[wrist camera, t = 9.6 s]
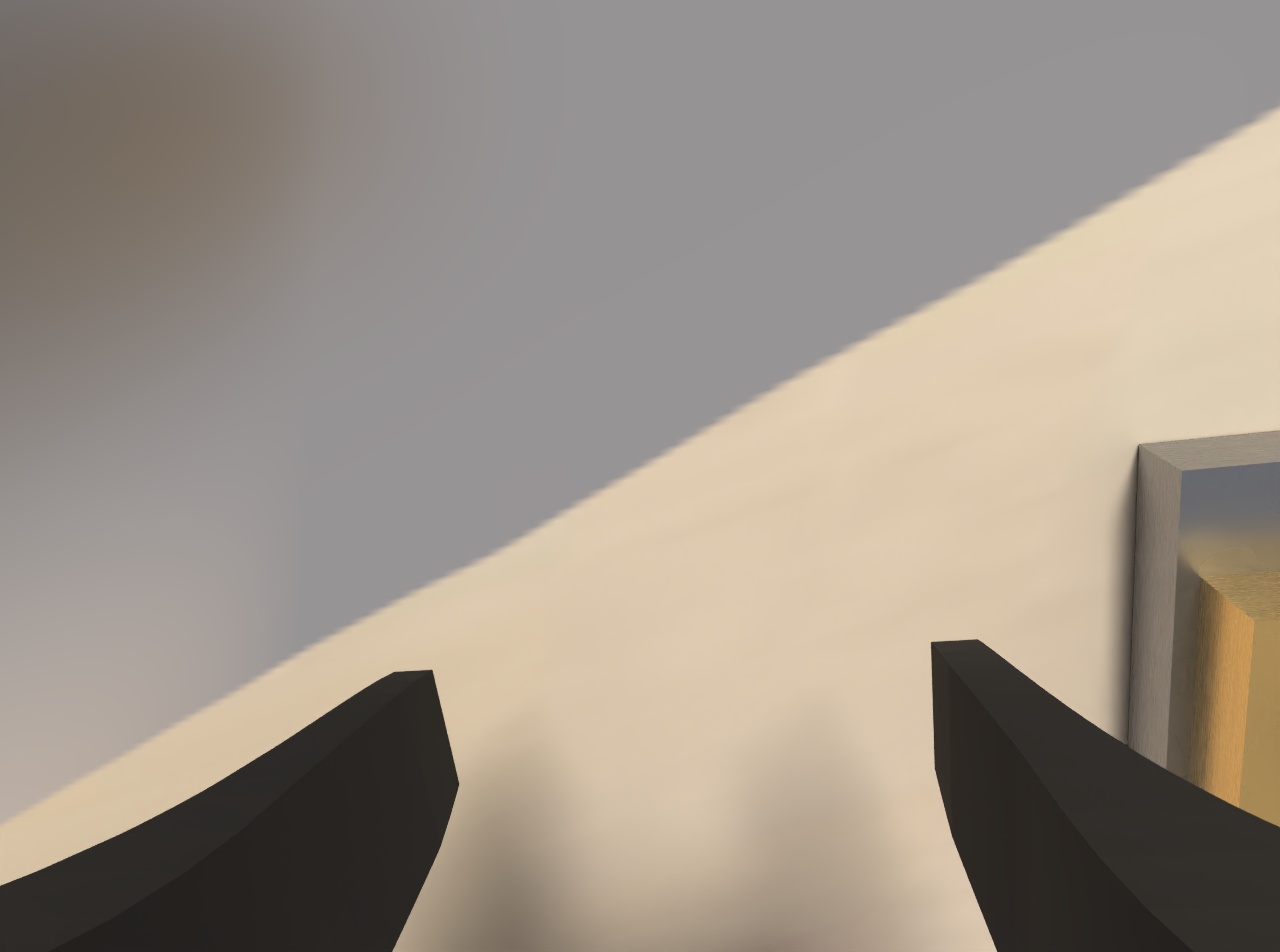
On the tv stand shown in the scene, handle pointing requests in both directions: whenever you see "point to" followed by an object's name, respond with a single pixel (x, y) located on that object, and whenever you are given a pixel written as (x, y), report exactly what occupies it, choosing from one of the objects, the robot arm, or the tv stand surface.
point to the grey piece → (1209, 616)
